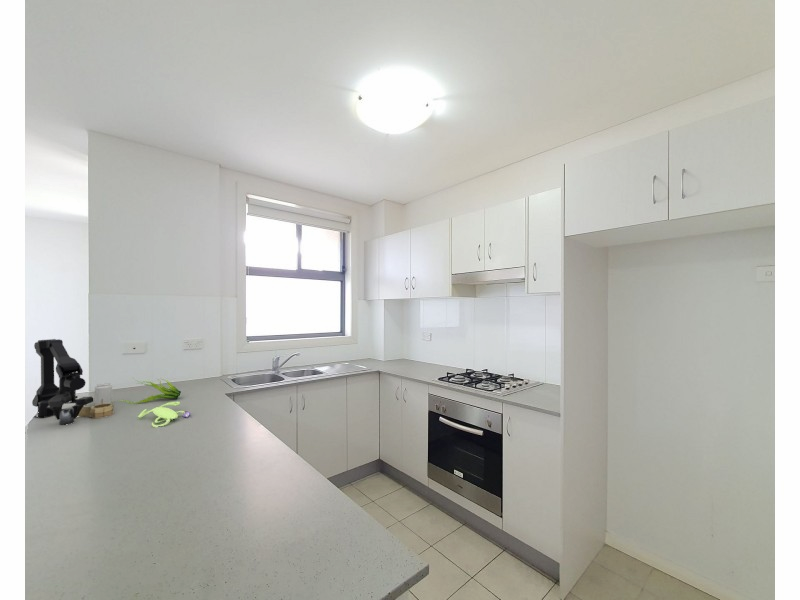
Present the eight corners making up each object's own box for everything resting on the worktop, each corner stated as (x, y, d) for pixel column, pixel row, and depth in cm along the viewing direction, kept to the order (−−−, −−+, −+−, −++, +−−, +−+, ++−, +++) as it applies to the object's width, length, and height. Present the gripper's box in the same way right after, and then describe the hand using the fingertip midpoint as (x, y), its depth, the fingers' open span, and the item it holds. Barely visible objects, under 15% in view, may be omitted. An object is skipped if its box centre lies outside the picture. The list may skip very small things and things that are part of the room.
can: (95, 407, 182) (96, 386, 182) (92, 404, 187) (93, 384, 187) (113, 404, 188) (113, 383, 188) (110, 401, 193) (110, 381, 193)
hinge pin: (56, 424, 157) (57, 410, 157) (69, 421, 162) (70, 407, 162) (63, 425, 155) (63, 411, 155) (76, 422, 160) (76, 408, 160)
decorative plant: (135, 397, 203) (136, 373, 203) (183, 397, 203) (183, 374, 203) (110, 406, 185) (110, 380, 185) (161, 407, 185) (162, 381, 185)
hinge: (66, 417, 166) (66, 407, 166) (102, 407, 182) (102, 398, 182) (89, 421, 161) (89, 411, 161) (124, 411, 176) (124, 402, 176)
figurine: (175, 408, 183) (175, 398, 183) (197, 418, 168) (197, 407, 168) (134, 417, 168) (135, 407, 168) (154, 429, 153) (155, 417, 153)
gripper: (29, 392, 149) (28, 426, 149) (77, 390, 153) (77, 423, 153) (49, 386, 160) (49, 418, 159) (94, 385, 164) (93, 415, 164)
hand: (66, 419), depth 158 cm, fingers open, 6 cm apart
